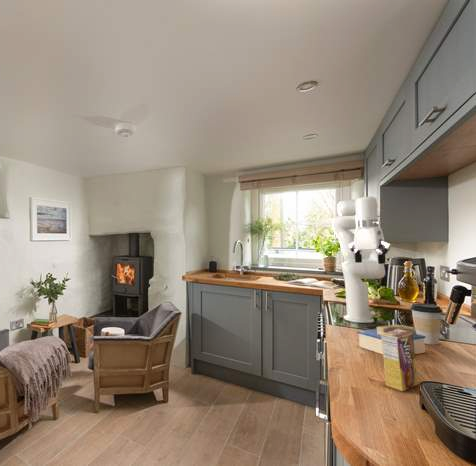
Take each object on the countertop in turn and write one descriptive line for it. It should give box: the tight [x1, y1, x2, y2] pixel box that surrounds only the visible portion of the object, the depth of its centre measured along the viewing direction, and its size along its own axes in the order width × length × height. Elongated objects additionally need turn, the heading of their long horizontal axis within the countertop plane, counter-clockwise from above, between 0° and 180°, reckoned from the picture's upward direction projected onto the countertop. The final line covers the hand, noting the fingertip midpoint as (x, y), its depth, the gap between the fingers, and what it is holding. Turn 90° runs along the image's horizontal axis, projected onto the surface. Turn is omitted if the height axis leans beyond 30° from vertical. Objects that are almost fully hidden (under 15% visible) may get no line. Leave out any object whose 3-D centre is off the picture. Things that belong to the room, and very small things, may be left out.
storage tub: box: [357, 328, 426, 355], centre depth 112 cm, size 17×13×6 cm
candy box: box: [381, 329, 419, 392], centre depth 85 cm, size 9×4×15 cm, turn 114°
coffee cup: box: [409, 303, 444, 346], centre depth 119 cm, size 9×9×15 cm
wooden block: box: [376, 324, 416, 335], centre depth 113 cm, size 15×4×3 cm, turn 104°
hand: (369, 263), depth 129 cm, fingers open, 9 cm apart
